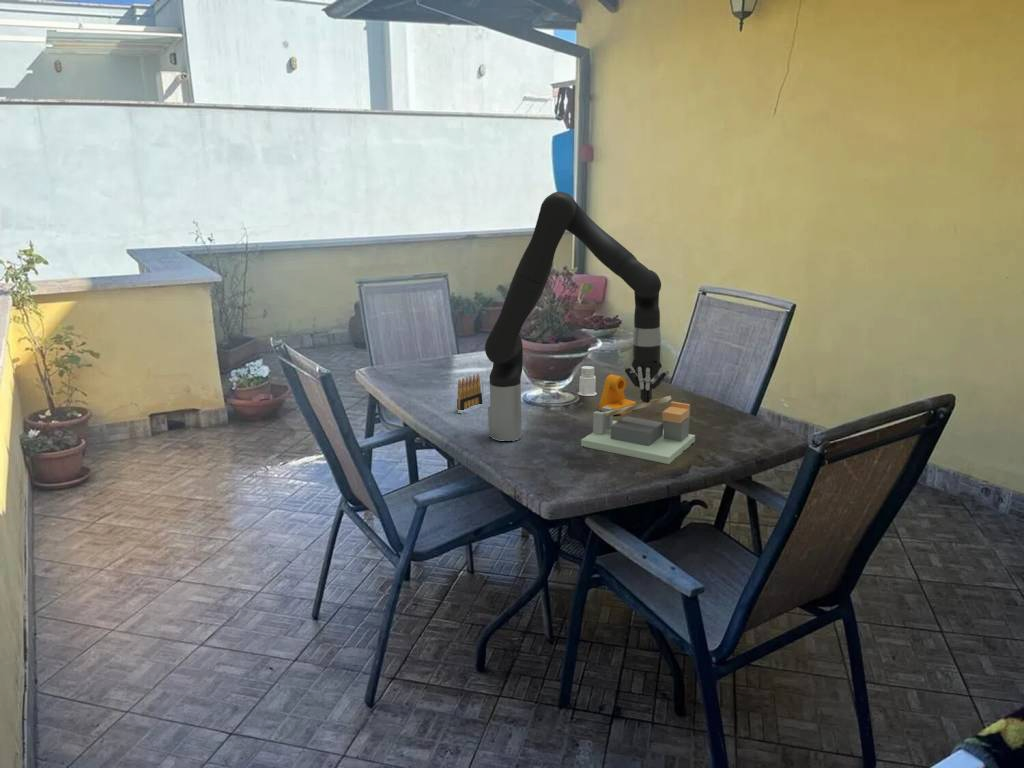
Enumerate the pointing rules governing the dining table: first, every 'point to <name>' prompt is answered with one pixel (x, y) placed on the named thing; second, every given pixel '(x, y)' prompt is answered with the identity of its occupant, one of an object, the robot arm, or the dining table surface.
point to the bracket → (615, 394)
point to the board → (638, 450)
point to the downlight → (587, 381)
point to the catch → (676, 412)
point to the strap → (637, 406)
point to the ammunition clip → (469, 393)
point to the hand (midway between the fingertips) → (646, 401)
